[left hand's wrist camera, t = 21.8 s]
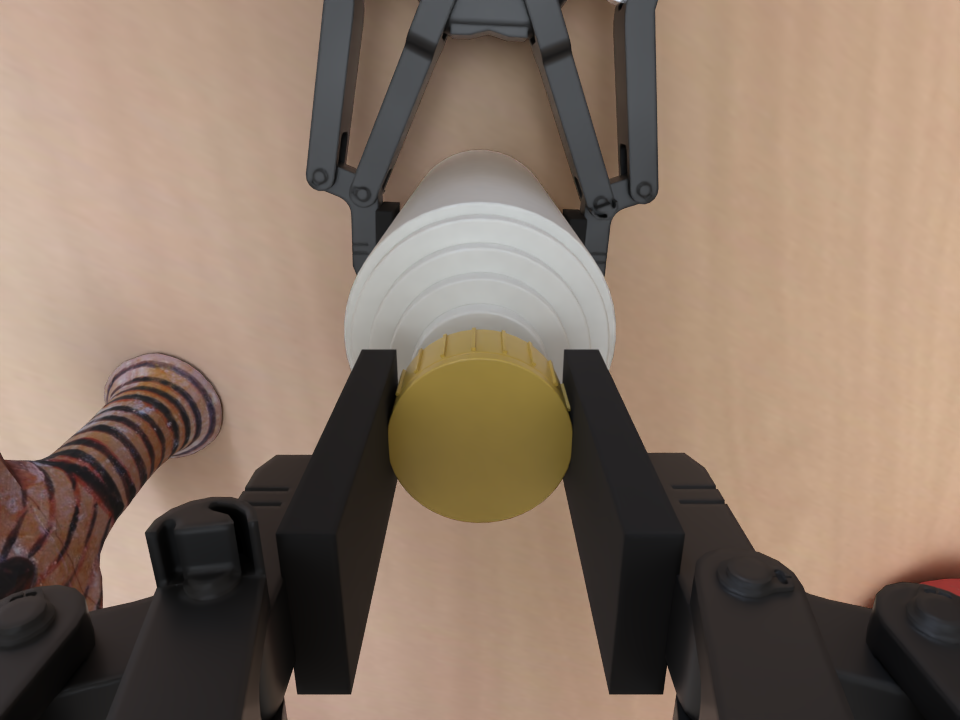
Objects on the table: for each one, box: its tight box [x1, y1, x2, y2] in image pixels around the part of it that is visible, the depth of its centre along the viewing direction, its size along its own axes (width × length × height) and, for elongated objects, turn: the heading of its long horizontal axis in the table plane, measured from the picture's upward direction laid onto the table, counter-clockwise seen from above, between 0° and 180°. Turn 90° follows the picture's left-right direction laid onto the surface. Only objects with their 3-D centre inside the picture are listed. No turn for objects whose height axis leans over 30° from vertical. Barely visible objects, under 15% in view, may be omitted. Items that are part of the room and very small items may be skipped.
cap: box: [388, 327, 572, 523], centre depth 14 cm, size 4×4×2 cm
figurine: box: [0, 353, 222, 611], centre depth 26 cm, size 15×8×30 cm, turn 29°
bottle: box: [344, 150, 616, 384], centre depth 25 cm, size 8×8×24 cm
